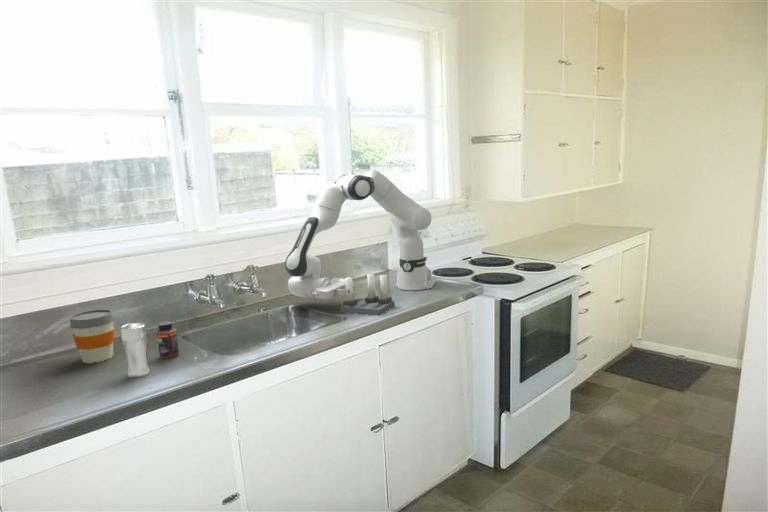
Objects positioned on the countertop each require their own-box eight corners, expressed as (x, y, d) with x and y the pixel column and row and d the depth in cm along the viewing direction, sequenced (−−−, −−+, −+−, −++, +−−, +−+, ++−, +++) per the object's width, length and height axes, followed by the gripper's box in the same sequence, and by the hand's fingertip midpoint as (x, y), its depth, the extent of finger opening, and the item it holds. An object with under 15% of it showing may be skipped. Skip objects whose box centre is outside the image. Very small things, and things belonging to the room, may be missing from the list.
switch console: (357, 303, 225) (355, 272, 223) (394, 306, 217) (393, 274, 215) (340, 311, 213) (338, 279, 211) (379, 316, 205) (377, 282, 203)
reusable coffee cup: (79, 355, 176) (72, 312, 173) (120, 348, 180) (114, 307, 178) (73, 368, 164) (65, 322, 162) (117, 361, 169) (110, 316, 166)
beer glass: (142, 378, 154) (135, 329, 151) (121, 377, 155) (114, 329, 152) (156, 369, 161) (150, 322, 158) (136, 368, 162) (129, 322, 159)
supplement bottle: (180, 351, 175) (177, 319, 173) (177, 358, 169) (173, 324, 167) (162, 353, 174) (158, 321, 172) (157, 360, 168) (153, 326, 166)
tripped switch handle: (349, 302, 217) (347, 276, 215) (357, 303, 215) (356, 277, 213) (342, 305, 213) (341, 279, 211) (351, 306, 211) (349, 279, 209)
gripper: (308, 286, 209) (337, 289, 203) (335, 275, 227) (362, 277, 221) (309, 301, 210) (338, 304, 204) (335, 289, 228) (363, 292, 222)
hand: (351, 290), depth 213 cm, fingers closed on tripped switch handle, 3 cm apart
